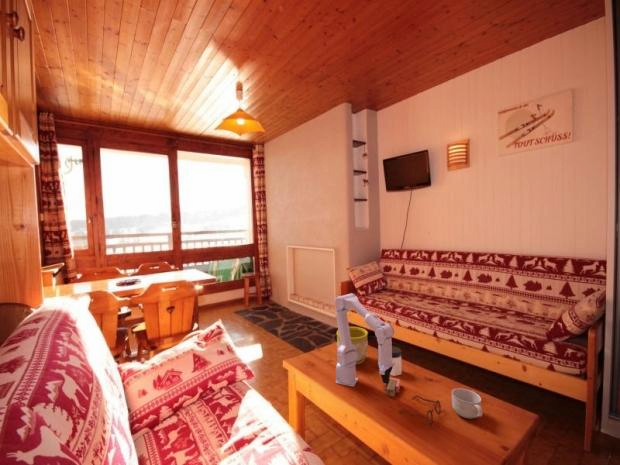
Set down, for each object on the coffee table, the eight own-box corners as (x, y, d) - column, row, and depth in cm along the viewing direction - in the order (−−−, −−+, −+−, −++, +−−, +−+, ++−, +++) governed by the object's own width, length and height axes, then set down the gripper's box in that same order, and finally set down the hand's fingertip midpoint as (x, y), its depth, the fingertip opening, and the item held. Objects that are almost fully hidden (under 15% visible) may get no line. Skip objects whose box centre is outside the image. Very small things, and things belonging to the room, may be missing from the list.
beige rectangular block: (386, 396, 135) (386, 388, 135) (390, 386, 143) (390, 379, 143) (393, 397, 134) (393, 390, 134) (397, 387, 142) (397, 380, 142)
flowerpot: (365, 369, 159) (364, 339, 159) (333, 364, 166) (332, 336, 165) (370, 355, 176) (370, 328, 175) (341, 351, 182) (340, 325, 182)
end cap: (383, 389, 140) (383, 383, 140) (386, 382, 146) (386, 376, 146) (398, 392, 137) (398, 386, 137) (400, 385, 143) (400, 379, 143)
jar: (402, 376, 151) (402, 353, 150) (386, 375, 152) (385, 353, 152) (400, 368, 159) (400, 346, 159) (385, 367, 161) (384, 345, 161)
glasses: (429, 427, 114) (428, 414, 114) (397, 413, 123) (397, 401, 123) (441, 410, 124) (441, 399, 124) (411, 398, 133) (411, 387, 133)
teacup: (447, 405, 127) (447, 387, 126) (472, 405, 126) (472, 387, 126) (463, 428, 113) (462, 408, 112) (492, 428, 112) (491, 407, 112)
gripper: (391, 361, 120) (392, 393, 120) (397, 347, 133) (398, 376, 134) (374, 358, 123) (374, 390, 124) (381, 344, 136) (382, 373, 137)
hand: (385, 382), depth 129 cm, fingers closed
